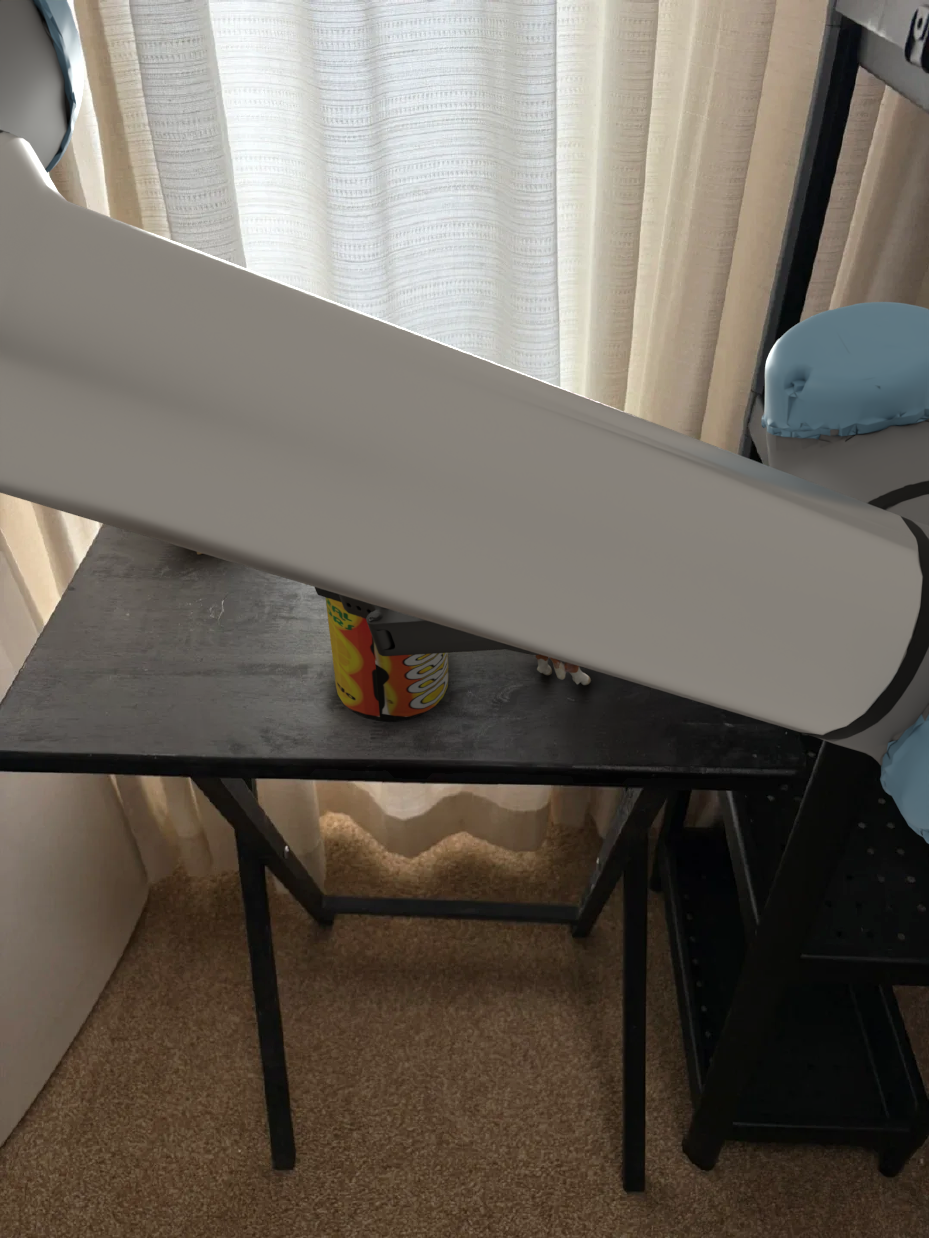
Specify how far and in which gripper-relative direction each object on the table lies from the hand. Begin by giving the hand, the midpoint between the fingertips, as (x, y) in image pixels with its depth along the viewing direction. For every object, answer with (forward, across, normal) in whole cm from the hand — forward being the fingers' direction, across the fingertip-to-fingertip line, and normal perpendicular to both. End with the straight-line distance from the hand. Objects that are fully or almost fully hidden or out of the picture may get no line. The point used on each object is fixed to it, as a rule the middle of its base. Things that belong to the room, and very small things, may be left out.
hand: (382, 512), depth 68 cm
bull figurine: (-6, +13, -22) cm, 26 cm away
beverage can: (+7, +1, -19) cm, 20 cm away
